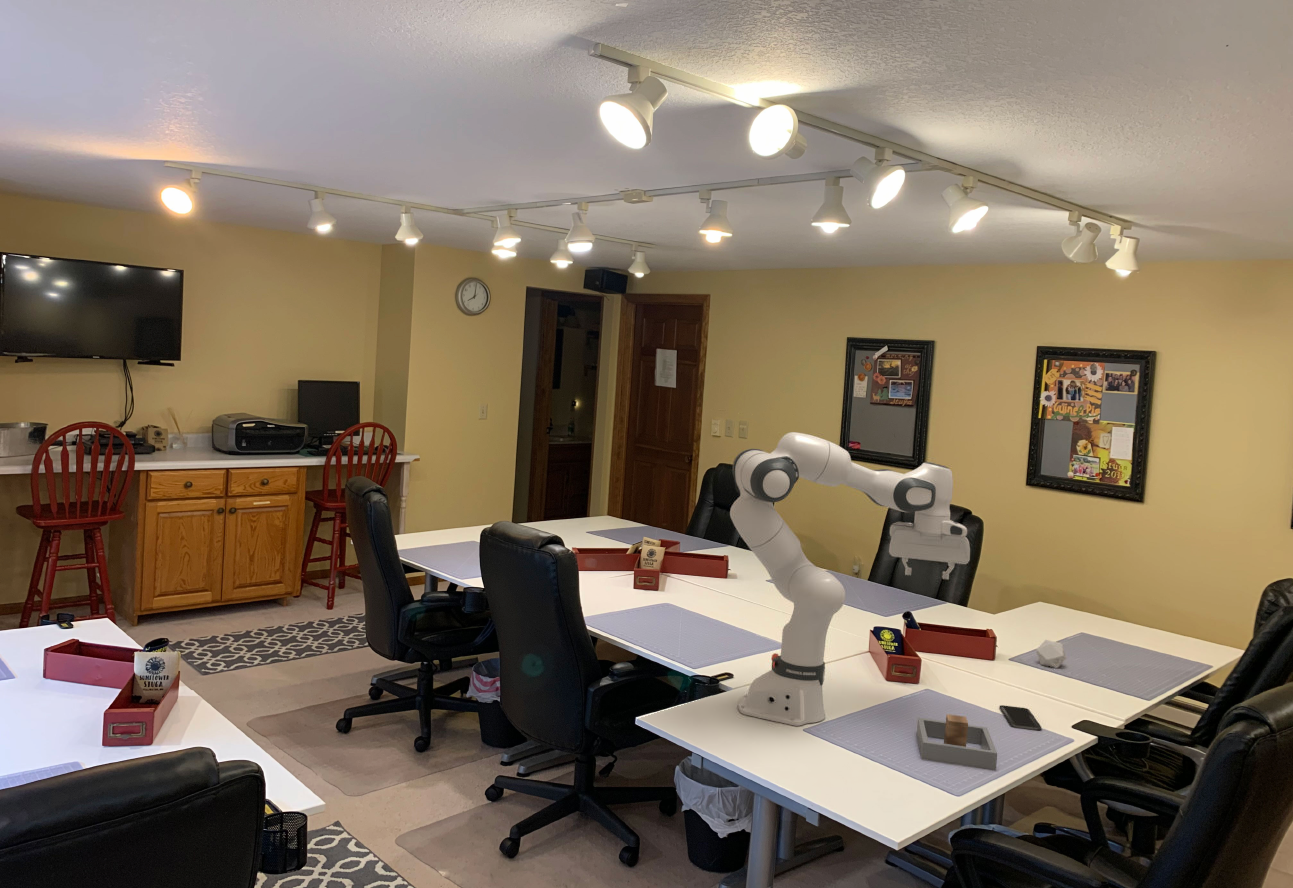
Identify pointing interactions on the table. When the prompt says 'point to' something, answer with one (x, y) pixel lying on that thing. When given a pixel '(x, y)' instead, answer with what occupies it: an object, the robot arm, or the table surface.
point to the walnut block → (956, 730)
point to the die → (1051, 654)
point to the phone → (1020, 718)
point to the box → (953, 752)
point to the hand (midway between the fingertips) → (926, 576)
